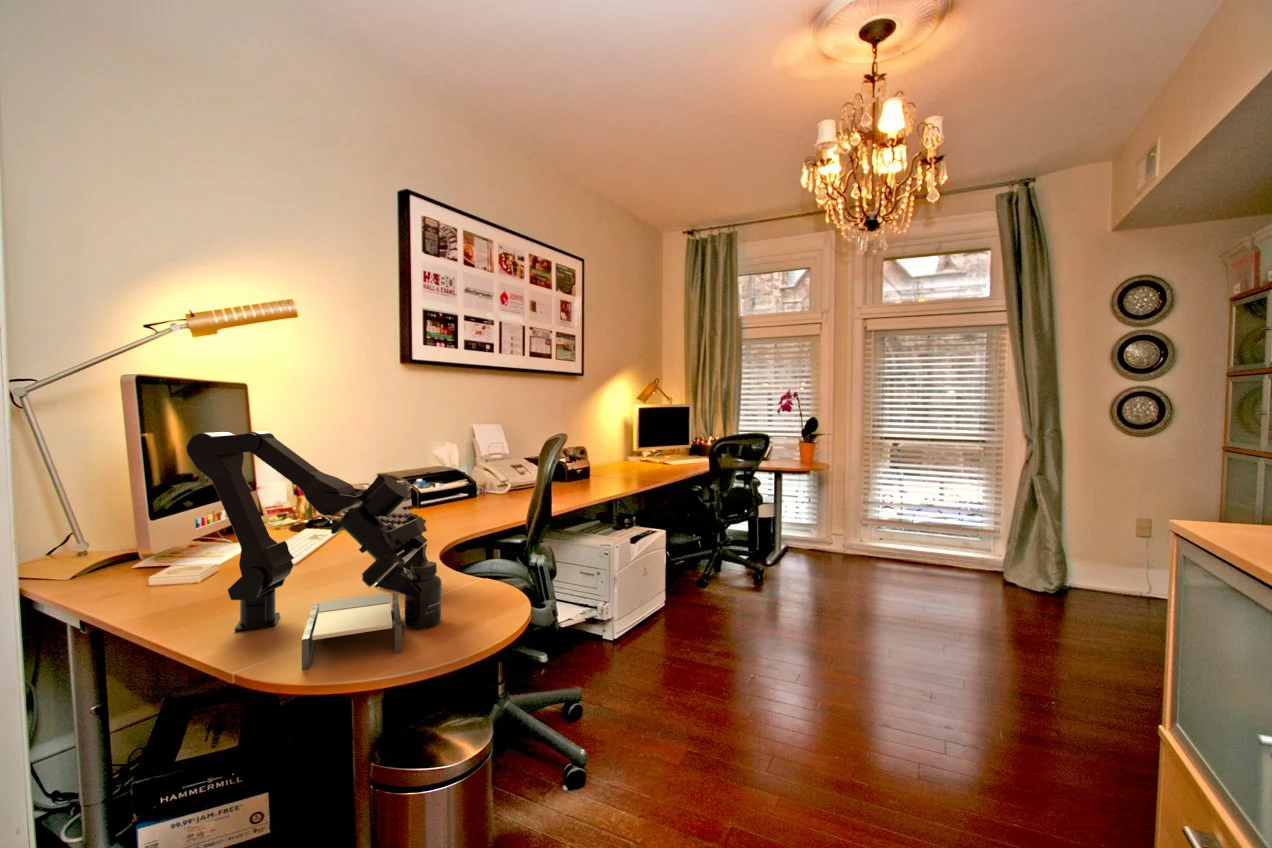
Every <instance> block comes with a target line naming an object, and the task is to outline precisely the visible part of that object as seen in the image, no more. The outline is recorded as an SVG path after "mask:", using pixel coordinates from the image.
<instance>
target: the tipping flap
mask: <svg viewBox="0 0 1272 848" xmlns="http://www.w3.org/2000/svg"><path fill="white" fill-rule="evenodd" d="M391 610H392V603H391V593H390V592H385V593H375V594H368V595H360V596H351V597H345V598H344V597H343V598H337V599H336V598H335V599H328V600H321V602H320V604H319V613H318V617H317V621H316V624H315V628H314V632H313V635H312V640H316V641H317V640H322V639H328V638H335V637H341V636H347V635H348V636H349V635H355V634H362V633H366V632H367V633H368V632H374V631H380V630H381V631H382V630H388V629H393V621H392V616H391Z"/></svg>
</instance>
